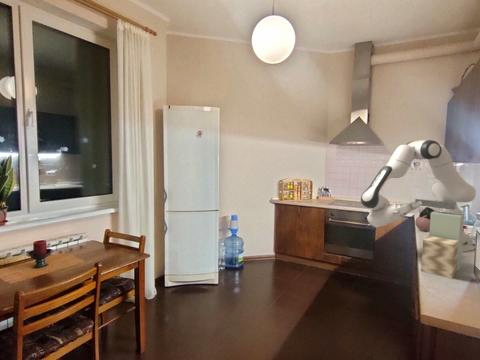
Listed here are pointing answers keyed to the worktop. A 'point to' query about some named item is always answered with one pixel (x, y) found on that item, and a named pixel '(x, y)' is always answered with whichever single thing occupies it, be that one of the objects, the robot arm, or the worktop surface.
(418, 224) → the pink toy umbrella
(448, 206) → the lever bar
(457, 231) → the column
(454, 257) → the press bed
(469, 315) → the worktop surface
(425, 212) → the squash
